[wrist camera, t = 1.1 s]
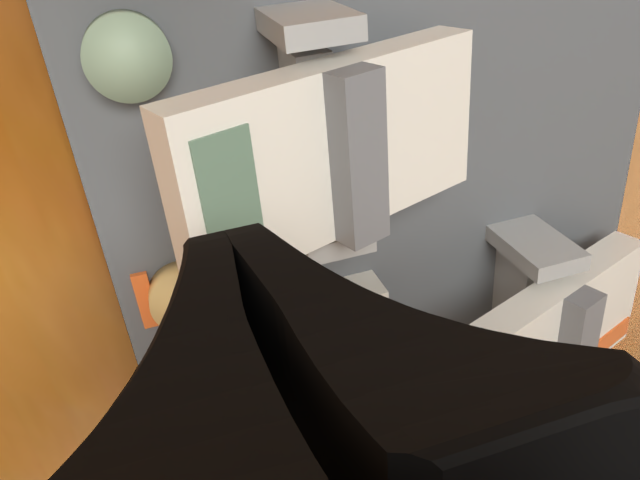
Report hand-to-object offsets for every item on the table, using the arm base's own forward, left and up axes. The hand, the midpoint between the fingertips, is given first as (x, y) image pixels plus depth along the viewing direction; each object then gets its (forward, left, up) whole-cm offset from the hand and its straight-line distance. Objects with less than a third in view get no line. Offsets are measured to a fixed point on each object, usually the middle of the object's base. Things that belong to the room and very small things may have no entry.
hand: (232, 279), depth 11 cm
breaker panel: (-6, +6, -9) cm, 13 cm away
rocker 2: (-11, +8, -5) cm, 15 cm away
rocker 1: (-4, 0, -5) cm, 6 cm away
